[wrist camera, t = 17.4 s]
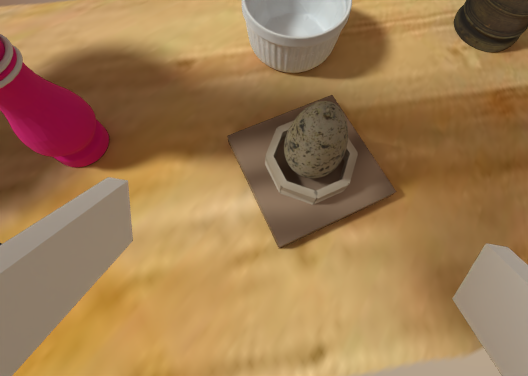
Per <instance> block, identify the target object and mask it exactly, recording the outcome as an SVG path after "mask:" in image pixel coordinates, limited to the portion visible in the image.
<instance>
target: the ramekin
mask: <svg viewBox="0 0 528 376" xmlns="http://www.w3.org/2000/svg"><path fill="white" fill-rule="evenodd" d="M351 7H352V0H242V12H243V16H244V18H245V20H246V25H247V30H248V36H249V41H250V44H251V47H252V49H253V51H254V53H255V54H256V55H257V57H258V58H259V59H260V60H261V61H262V62H264V63H265V64H266V65H268V66H269V67H271V68H273V69H276V70H278V71H282V72H288V73H298V72H304V71H307V70H310V69H312V68H314V67H316V66H318V65H319V64H321V63H322V62H323V61H324V60H326V58H327V57H328V56H329V55H330V53H331V51H332V50H333V48H334V46H335V44H336V42H337V39H338V37H339V35H340V32H341V30H342V29H343V27H344V26H345V24H346V23H347V21H348V18H349V15H350V11H351Z"/></svg>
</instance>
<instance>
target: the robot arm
mask: <svg viewBox="0 0 528 376" xmlns="http://www.w3.org/2000/svg"><path fill="white" fill-rule="evenodd" d="M132 241H133V237H132V225H131V213H130V201H129V189H128V181H127V180H121V179H115V178H109V177H107V178H106V179H104V180H103V181H101V182H100V183H98V184H96V185H95V186H93V187H92V188H90V189H89V190H87V191H85V192H84V193H82V194H81V195H79V196H77V197H76V198H74V199H73V200H71V201H70V202H68V203H66V204H65V205H63V206H62V207H60V208H58V209H57V210H55V211H54V212H52V213H51V214H49V215H47V216H46V217H44V218H43V219H41V220H40V221H38V222H36V223H35V224H33V225H32V226H30V227H28V228H27V229H25V230H24V231H22V232H21V233H19V234H17V235H16V236H14V237H13V238H11V239H10V240H8V241H6V242H5V243H3V244H2V243H0V376H12V375H13V374H14V373H15V372H16V371H17V369H18V368H19V367H20V366H21V365H22V364H23V363H24V362H25V361H26V359H27V358H28V357H29V356H30V355H31V354H32V353H33V352H34V351H35V349H36V348H37V347H38V346H39V345H40V344H41V343H42V342H43V340H44V339H45V338H46V337H47V336H48V335H49V334H50V333H51V332H52V330H53V329H54V328H55V327H56V326H57V325H58V324H59V323H60V321H61V320H62V319H63V318H64V317H65V316H66V315H67V314H68V313H69V311H70V310H71V309H72V308H73V307H74V306H75V305H76V304H77V302H78V301H79V300H80V299H81V298H82V297H83V296H84V295H85V294H86V292H87V291H88V290H89V289H90V288H91V287H92V286H93V285H94V283H95V282H96V281H97V280H98V279H99V278H100V277H101V276H102V275H103V273H104V272H105V271H106V270H107V269H108V268H109V267H110V266H111V264H112V263H113V262H114V261H115V260H116V259H117V258H118V257H119V256H120V254H121V253H122V252H123V251H124V250H125V249H126V248H127V247H128V245H129V244H130V243H131V242H132ZM453 301H454V302H455V304H456V306H457V307H458V309H459V310H460V312H461V313H462V315H463V316H464V318H465V319H466V321H467V323H468V324H469V326H470V327H471V329H472V330H473V332H474V333H475V335H476V336H477V338H478V340H479V341H480V343H481V344H482V346H483V347H484V349H485V350H486V352H487V353H488V355H489V356H490V358H491V360H492V361H493V363H494V364H495V366H496V367H497V369H498V370H499V372H500V374H501V375H502V376H528V265H527V264H526V263H525V262H524V261H523V260H522V259H521V258H519V257H518V256H517V255H516V254H515V253H514V252H513V251H512V250H510V249H509V248H508V247H505V246H499V245H493V244H487V243H486V244H485V245H484V247H483V249H482V250H481V252H480V254H479V255H478V257H477V259H476V260H475V262H474V264H473V265H472V267H471V269H470V270H469V272H468V274H467V275H466V277H465V279H464V280H463V282H462V284H461V285H460V287H459V289H458V290H457V292H456V294H455V295H454V297H453Z"/></svg>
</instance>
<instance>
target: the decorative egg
mask: <svg viewBox="0 0 528 376" xmlns="http://www.w3.org/2000/svg"><path fill="white" fill-rule="evenodd" d="M347 143H348V126H347V121H346V118H345V116H344V113H343V112H342V110H341V109H340V108H339V107H338V106H337V105H336V104H335V103H332V102H330V101H319V102H316V103H313V104H311V105H310V106H308V107H307V108H305V109H304V110H303V111H302V112H301V113H300V114H299V115H298V116H297V117H296V119H295V120H294V121H293V123H292V124H291V126H290V128H289V130H288V132H287V135H286V138H285V143H284V153H285V158H286V161H287V163H288V164H289V166H290V167H291V169H292V170H293V171H294V172H296V173H297V174H298V175H300V176H303V177H306V178H320V177H323V176H326V175H328V174H329V173H331V172H332V171H333V170H335V169H336V167H337V166H338V165H339V164H340V162H341V161H342V159H343V157H344V154H345V152H346V148H347Z"/></svg>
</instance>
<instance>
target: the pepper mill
mask: <svg viewBox="0 0 528 376" xmlns="http://www.w3.org/2000/svg"><path fill="white" fill-rule="evenodd" d="M0 111H1V112H2V113H3V114H4V115H5V117H6V118H7V120H8V122H9V124H10V126H11V128H12V129H13V131H14V133H15V134H16V135H17V137H18V138H19V139H20V140H21V141H22V142H23V143H24V144H25V145H26V146H28V147H29V148H30V149H32V150H33V151H35V152H37V153H39V154H41V155H45V156H50V157H53V158H55V159H57V160H58V161H60V162H61V163H63V164H64V165H67V166H70V167H83V166H87V165H90V164H92V163H94V162H95V161H97V160H98V159H99V158H100V157H101V156H102V155H103V154H104V153H105V151H106V149H107V148H108V144H109V135H108V132H107V130H106V129H105V128H104V127H103V126H102V125H101V124H100V122H99V121H98V120H96V118H95V114H94V112H93V110H92V108H91V107H90V105H88V104H87V103H86V102H85V101H84V100H83V99H82V98H81V97H79V96H78V95H76V94H75V93H73V92H71V91H70V90H68V89H66V88H63V87H61V86H58V85H56V84H53V83H51V82H49V81H47V80H45V79H43V78H41V77H40V76H38V75H37V74H35V73H34V72H33V71H32V70H30V69H29V68H28V67H27V66H26V65H25V64H24V63H23V59H22V55H21V53H20V51H19V50H18V49H17V48H16V47H15V46H13V45H12V44H11V43H10V41H9V40H8V39H7V38H6V37H4V36H3V35H1V34H0Z"/></svg>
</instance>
